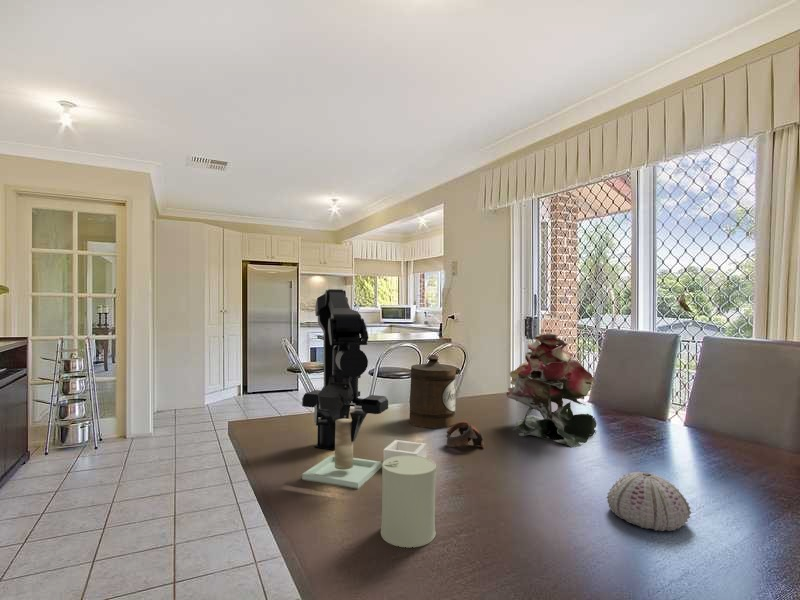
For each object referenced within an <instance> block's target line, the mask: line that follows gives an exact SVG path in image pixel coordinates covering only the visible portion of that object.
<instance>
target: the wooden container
mask: <svg viewBox="0 0 800 600" xmlns="http://www.w3.org/2000/svg"><path fill="white" fill-rule="evenodd" d="M427 359H428V360H429V361H428V362H427V363H419V364H413V365H411V367H410V387H409V388H410V391H409V392H410V393H409V423H410V424H412V425H413V426H415V425H416V426H415V427H420V428H424V427H425V429H445V428H450V427H451V426H453V425H454V424H456V375H457V374H456V373H457V369H456V367H455V366H453V365H449V364H443V363H442V364H441V363H439V361H438V360H439V356H438V355H436V354H431V355H428V357H427Z"/></svg>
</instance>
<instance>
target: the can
mask: <svg viewBox="0 0 800 600" xmlns="http://www.w3.org/2000/svg"><path fill="white" fill-rule="evenodd" d="M381 471H382V473H381V474H382V478H381V480H382V481H381V486H382V487H381V489H382V490H381V491H382V492H381V493H382V495H381V497H382V499H381V528H380V536H381V538H382V539H383V540H384V541H385V542H386V543H388V544H389V545H391V546H395V547H398V546H399V547H400V548H405V547H406V549H407V548H408V549H411V548H412V547H413V548H420V547H423V546H426V545H428V544H430V543H431V542H433V540H434V539H435V537H436V534H437V533H436V527H435V525H436V523H435V521H436V519H435V517H436V507H435V506H436V474H437V473H436V472H437V465H436V462H435V461H433V460H432V459H430V458H424V457H420V456H411V455H403V456H395V457H391V458H388V459H386V460H385V461H384V462H383V461H382V468H381Z"/></svg>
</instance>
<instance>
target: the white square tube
mask: <svg viewBox="0 0 800 600" xmlns="http://www.w3.org/2000/svg"><path fill="white" fill-rule="evenodd" d="M427 444H428V443H422V442H417V441H416V442H415V441H408V440H402V439H401V440H400V439H399V440H398V439H394V440H393V441H392V442H390V444H388V445H387V446H386V447H385V448H384V449H383V450H382V451H383V459H382V460H383V461H382V463H383V462H384V461H385V460H386V459H388V458H391V457H395V456H403V455H411V456H420V457H424V458H427V456H428V455H427V449H428V445H427Z"/></svg>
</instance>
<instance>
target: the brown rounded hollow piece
mask: <svg viewBox="0 0 800 600" xmlns="http://www.w3.org/2000/svg"><path fill="white" fill-rule="evenodd" d="M457 430H458V433H459V435H457V436H451V435H452V434H453V433H454V432H455V431H457ZM446 433H447V434H446V435H445V437H446V446H447V447H448V448H457V447H461V446H468V447H469V446H470V444H469V442H470V441H472V444H473V446H474V447H477V446H478V447H480V448H481V447H482V449H483V450H484V449H485V443H484V440H483V437H482V434H481V432H480V431H479V430H478V428H477V427H476V426H474V425H472V424H471V423H470V422H469V421H465V420H464V421H459V422H457V423H456V422H455V424H454V425H452V426H449V427H448V430H447V431H446Z"/></svg>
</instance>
